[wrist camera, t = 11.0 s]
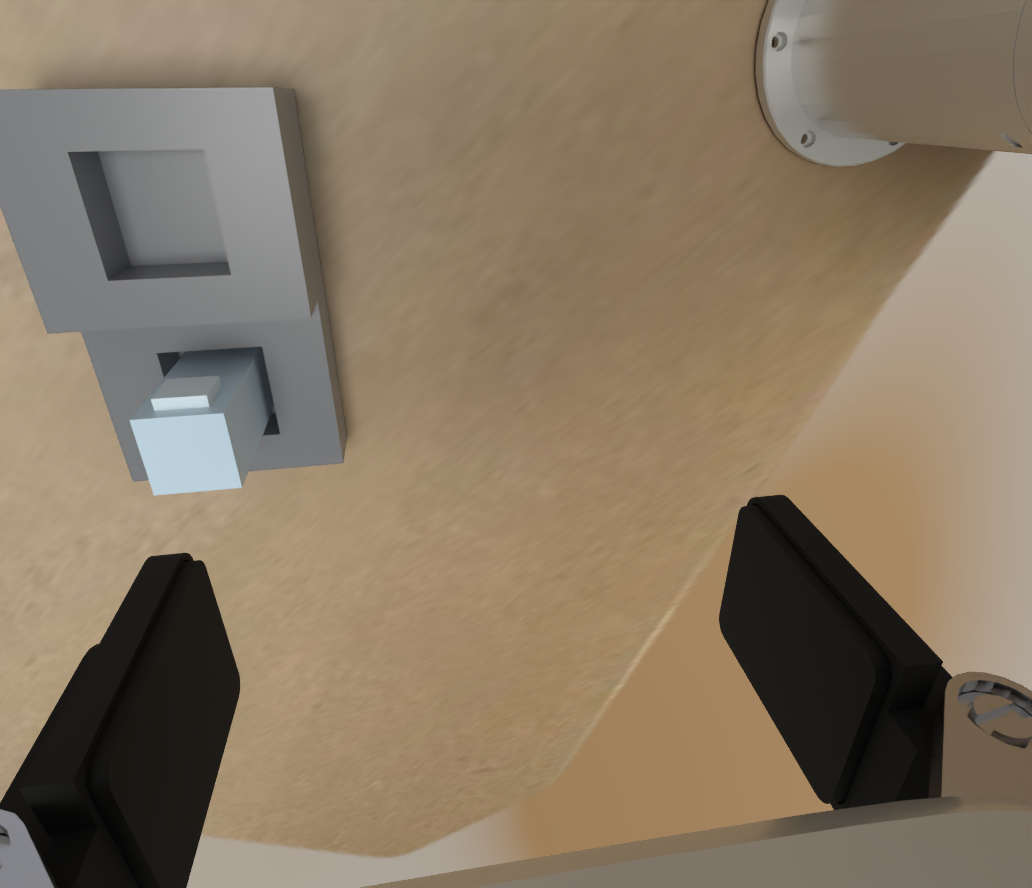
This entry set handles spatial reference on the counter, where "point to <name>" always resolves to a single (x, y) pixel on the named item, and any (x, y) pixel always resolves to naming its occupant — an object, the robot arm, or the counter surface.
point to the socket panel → (176, 245)
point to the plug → (204, 421)
